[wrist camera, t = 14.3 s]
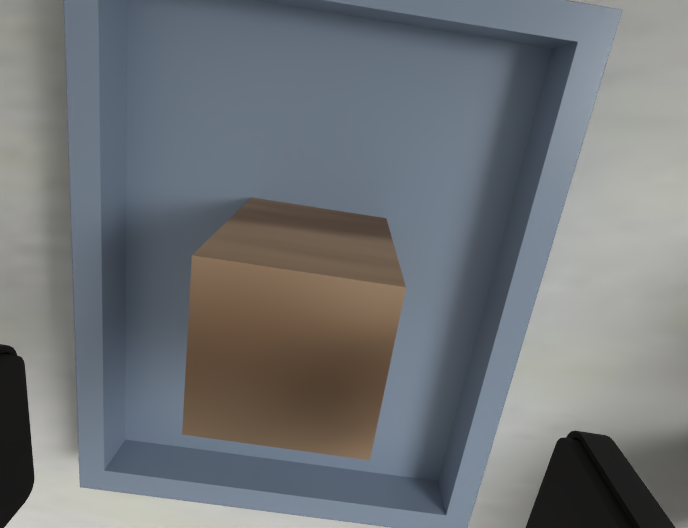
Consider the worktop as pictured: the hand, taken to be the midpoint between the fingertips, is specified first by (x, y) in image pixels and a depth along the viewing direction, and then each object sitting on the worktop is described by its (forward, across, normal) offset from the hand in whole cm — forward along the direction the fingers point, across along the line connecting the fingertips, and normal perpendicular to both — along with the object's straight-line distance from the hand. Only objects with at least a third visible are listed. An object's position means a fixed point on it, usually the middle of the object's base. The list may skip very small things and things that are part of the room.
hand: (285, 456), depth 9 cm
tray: (+11, +1, +1) cm, 11 cm away
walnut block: (+11, +1, 0) cm, 11 cm away
